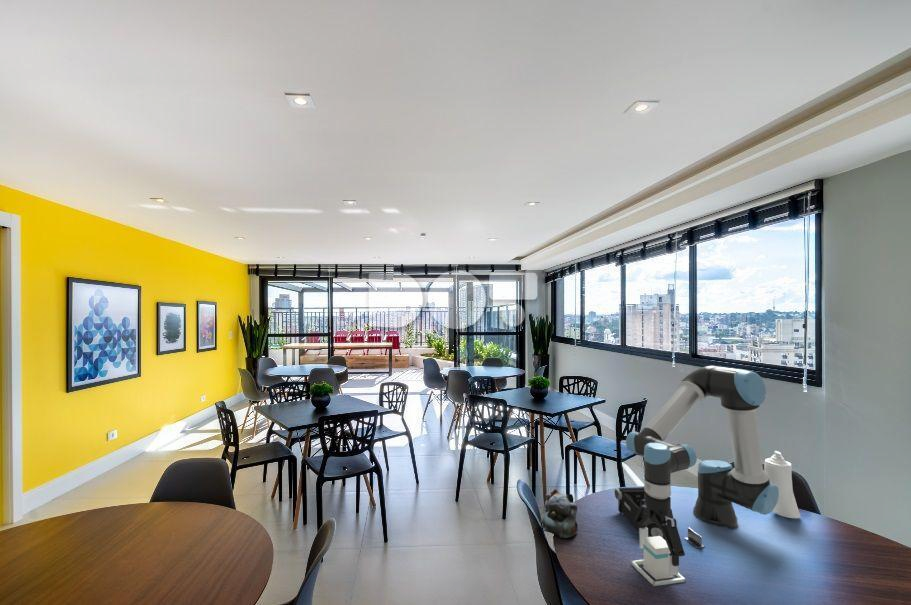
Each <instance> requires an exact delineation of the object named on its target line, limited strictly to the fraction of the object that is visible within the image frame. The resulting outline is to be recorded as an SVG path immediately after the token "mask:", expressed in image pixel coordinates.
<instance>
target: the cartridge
mask: <svg viewBox="0 0 911 605" xmlns="http://www.w3.org/2000/svg"><path fill="white" fill-rule="evenodd" d="M668 553H670V550H669V548H668V545H667V543H666V541H665V540H664V539H663V538H662V537H661V536H654V537H647V538H643V557H642V558H643V559H644V564H643V569H644V570H645V571H646V572H647V573H648V574H649V575H651V577H653V578H654V579H655V580H656V581H659V580H666V579H673V578H674V575H672V576H670V575H669V574H668Z"/></svg>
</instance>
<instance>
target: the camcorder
mask: <svg viewBox="0 0 911 605" xmlns="http://www.w3.org/2000/svg"><path fill="white" fill-rule="evenodd" d="M613 492H614V497H615V499H616V500H617V503H618V506H617V508H618V512H619V513H620V514H622V515H623V517H625V518H626V519H627V520H628V522H629V523H630V524H631V525H632V526H633V527H634V529H635V530H636V531H637V532H638V533H639V527H638V523H637V522H635V521H634V518H635V516H636V514H637V511H638V509H639V506H640V500H643V499H644V493H645V490H644V486H641V487H640V486H634V487H631V486H630V487H618V488H615V489H614V491H613ZM647 511H648V510H647ZM646 513H647V512H646Z"/></svg>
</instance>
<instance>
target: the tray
mask: <svg viewBox="0 0 911 605" xmlns="http://www.w3.org/2000/svg"><path fill="white" fill-rule="evenodd" d="M630 562H631V563H630V564H631V566H632V567H633V568H635V570H637V572H639V573H640V575H641V576H643V577H644V578H645V579H646V580H647V581H648V582H649V583H650V584H651V585H652V586H653V587H656V586H663V585H664V586H665V585H670V584H671V585H672V584H678V583H680V584H681V583H686V578H685V577H684V576H683V575H682V574H680V572H678V575H675V576H676V578H669V579H662V580H656V581H655V580H653V579H652V578H651V577H650V576H649V575H648V574H647V573H646V572H645V571H644V570H643V568H641V567H640V566H641V565H642V566H643V565H644V559H637V560H631V561H630Z"/></svg>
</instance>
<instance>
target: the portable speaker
mask: <svg viewBox="0 0 911 605" xmlns="http://www.w3.org/2000/svg"><path fill="white" fill-rule="evenodd" d="M647 512H648V511H647ZM668 516H669V518H671V519H675V518H674V514H673V510H672V508H670V510H669V511H668ZM663 526H666V524H665V525H663ZM645 527H647V528H648V537H654V536H661V537H662V538H663V539H664V540H665V538H664V536H663V533H662V531H661V530H660V529H659V527H658V525H656V524H655V523H654V522H652V521H651V522H650V523H649V524H648V525H647V526H645Z"/></svg>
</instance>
